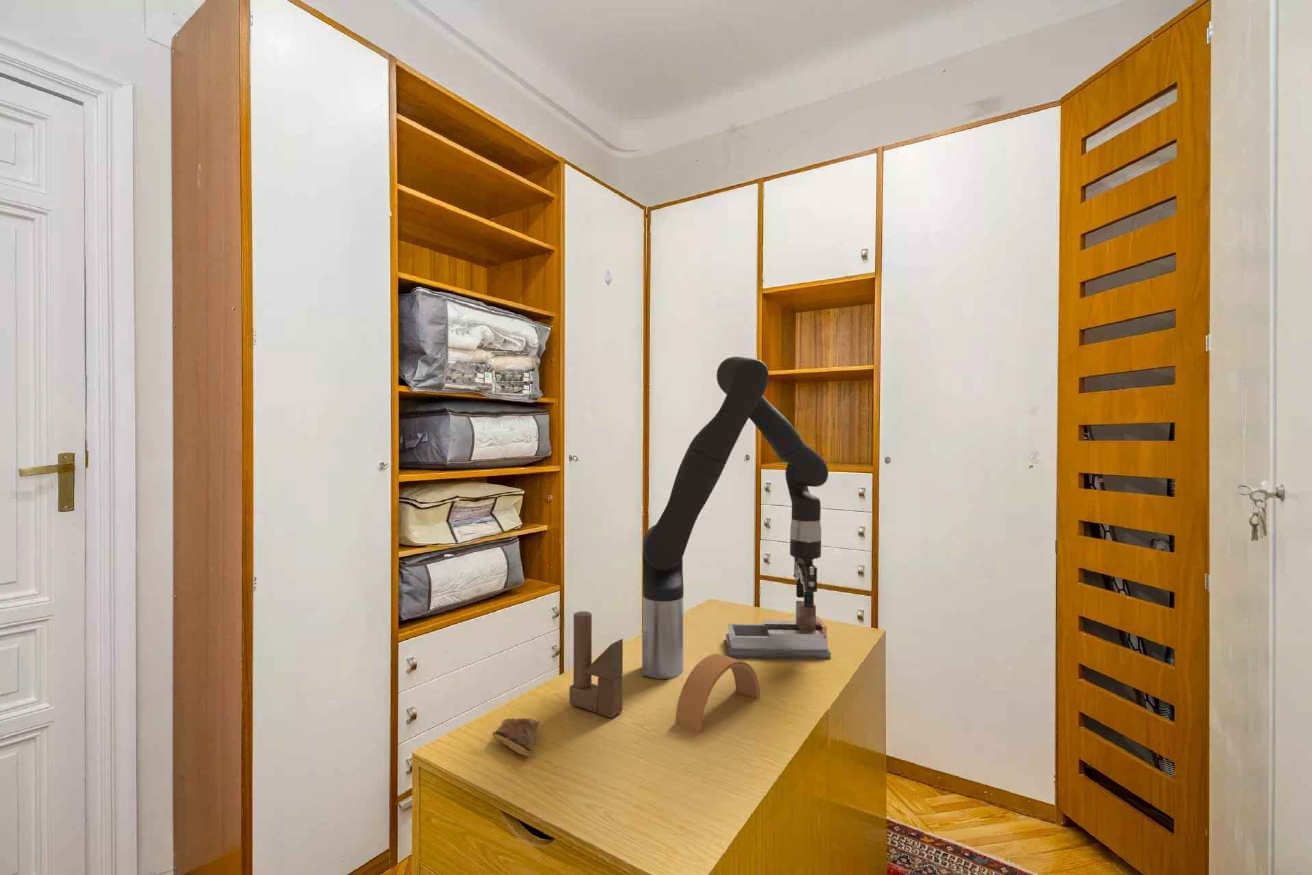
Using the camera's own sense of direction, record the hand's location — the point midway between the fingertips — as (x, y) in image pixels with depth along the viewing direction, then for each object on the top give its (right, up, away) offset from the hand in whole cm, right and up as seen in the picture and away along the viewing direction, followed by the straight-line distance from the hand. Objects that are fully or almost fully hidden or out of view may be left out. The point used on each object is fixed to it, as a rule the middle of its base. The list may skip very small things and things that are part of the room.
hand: (804, 602), depth 145 cm
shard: (-57, -13, -46) cm, 74 cm away
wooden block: (-49, -12, -31) cm, 59 cm away
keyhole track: (-7, -12, 0) cm, 14 cm away
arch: (-25, -12, -32) cm, 42 cm away
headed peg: (0, -10, 0) cm, 10 cm away
